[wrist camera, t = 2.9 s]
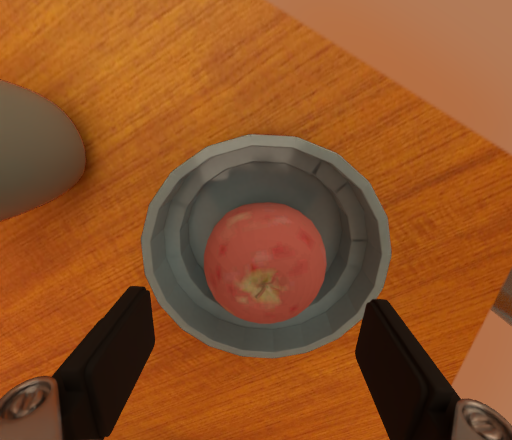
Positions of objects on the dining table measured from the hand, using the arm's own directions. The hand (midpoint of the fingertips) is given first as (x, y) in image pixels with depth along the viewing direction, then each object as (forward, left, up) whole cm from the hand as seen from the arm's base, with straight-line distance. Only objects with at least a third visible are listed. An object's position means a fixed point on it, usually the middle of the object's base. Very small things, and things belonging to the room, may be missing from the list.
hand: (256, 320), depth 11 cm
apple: (0, 0, -10) cm, 10 cm away
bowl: (0, 0, -10) cm, 10 cm away
